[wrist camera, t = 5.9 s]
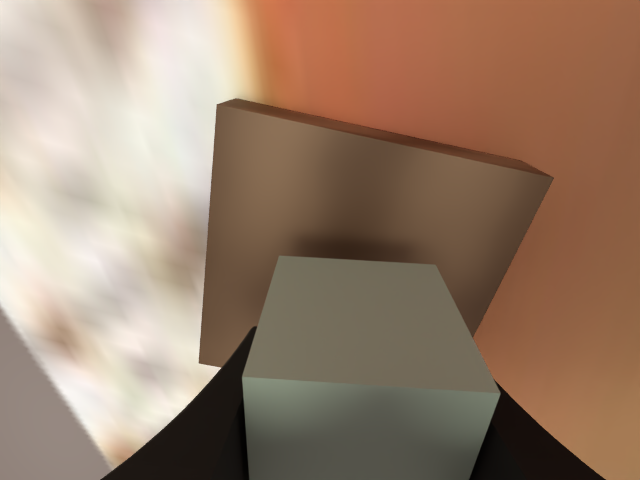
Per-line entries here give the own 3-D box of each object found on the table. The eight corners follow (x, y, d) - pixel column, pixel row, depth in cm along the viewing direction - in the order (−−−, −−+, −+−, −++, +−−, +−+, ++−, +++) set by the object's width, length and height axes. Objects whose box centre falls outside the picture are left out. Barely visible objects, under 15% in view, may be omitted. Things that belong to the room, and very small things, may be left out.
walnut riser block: (515, 158, 15) (554, 178, 13) (424, 362, 21) (437, 406, 18) (238, 97, 15) (216, 104, 12) (217, 323, 20) (198, 363, 17)
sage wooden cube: (435, 264, 11) (500, 393, 7) (411, 379, 14) (448, 534, 9) (278, 255, 11) (241, 377, 7) (279, 371, 14) (252, 520, 9)
